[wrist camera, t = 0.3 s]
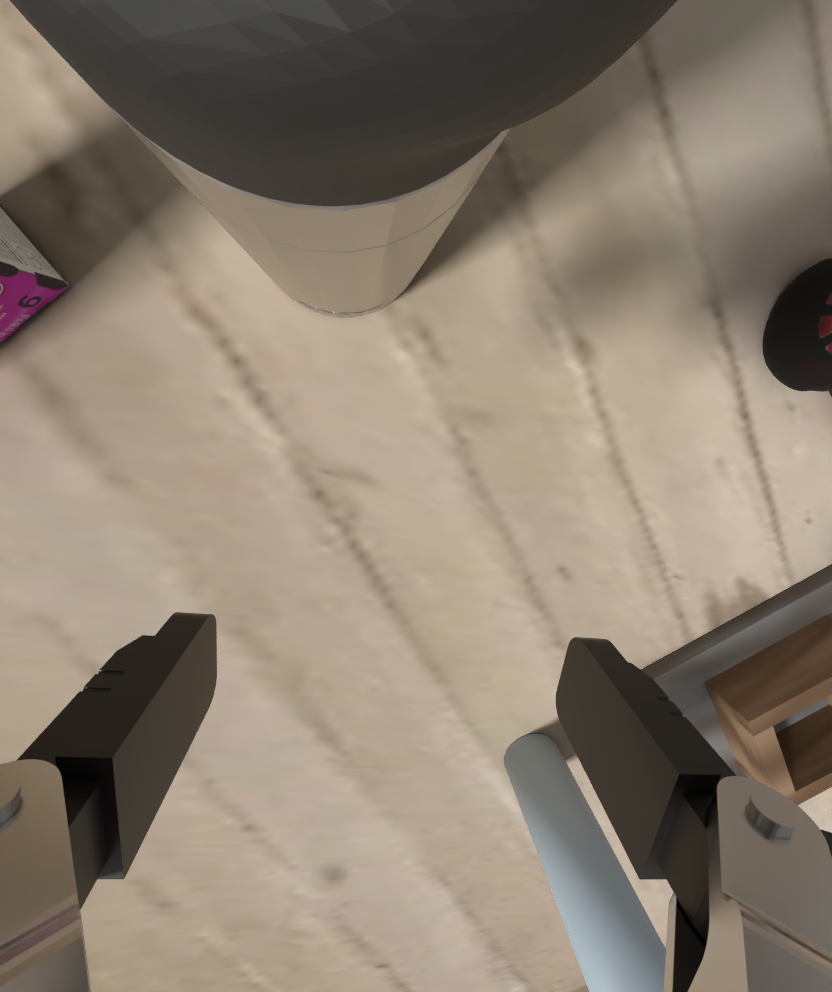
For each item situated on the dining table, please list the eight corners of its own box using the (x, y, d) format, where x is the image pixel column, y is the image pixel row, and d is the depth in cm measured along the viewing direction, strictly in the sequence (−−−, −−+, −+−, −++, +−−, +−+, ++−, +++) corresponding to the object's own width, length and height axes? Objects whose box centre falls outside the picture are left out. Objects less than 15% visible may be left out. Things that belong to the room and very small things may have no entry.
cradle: (628, 676, 34) (675, 729, 29) (857, 550, 33) (944, 582, 29) (687, 800, 39) (735, 863, 34) (887, 692, 38) (965, 739, 33)
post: (506, 736, 34) (627, 1033, 19) (560, 731, 35) (721, 1015, 19) (501, 780, 35) (612, 1093, 20) (554, 775, 36) (700, 1074, 21)
